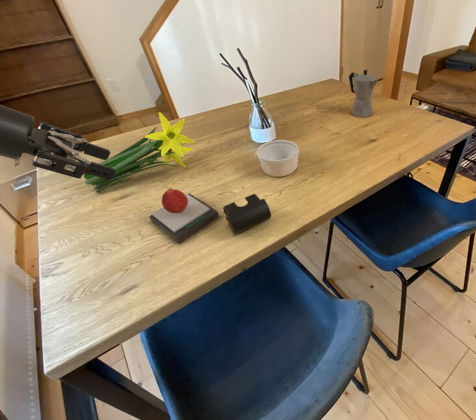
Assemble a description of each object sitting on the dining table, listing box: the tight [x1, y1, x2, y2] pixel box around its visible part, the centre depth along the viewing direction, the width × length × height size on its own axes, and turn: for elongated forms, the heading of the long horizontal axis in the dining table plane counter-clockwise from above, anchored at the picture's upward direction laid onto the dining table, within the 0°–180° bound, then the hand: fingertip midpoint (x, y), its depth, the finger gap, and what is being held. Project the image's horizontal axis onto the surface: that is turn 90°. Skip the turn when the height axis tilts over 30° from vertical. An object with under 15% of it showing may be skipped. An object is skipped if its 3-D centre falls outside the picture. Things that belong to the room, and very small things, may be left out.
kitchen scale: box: [148, 193, 220, 245], centre depth 73 cm, size 12×13×3 cm
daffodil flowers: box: [83, 111, 196, 194], centre depth 85 cm, size 17×15×35 cm
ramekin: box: [256, 139, 300, 178], centre depth 90 cm, size 13×13×7 cm
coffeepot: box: [348, 69, 379, 118], centre depth 118 cm, size 15×9×18 cm, turn 43°
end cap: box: [222, 193, 272, 235], centre depth 70 cm, size 10×7×7 cm
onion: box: [161, 187, 188, 213], centre depth 70 cm, size 6×6×8 cm
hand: (111, 164), depth 54 cm, fingers open, 8 cm apart
